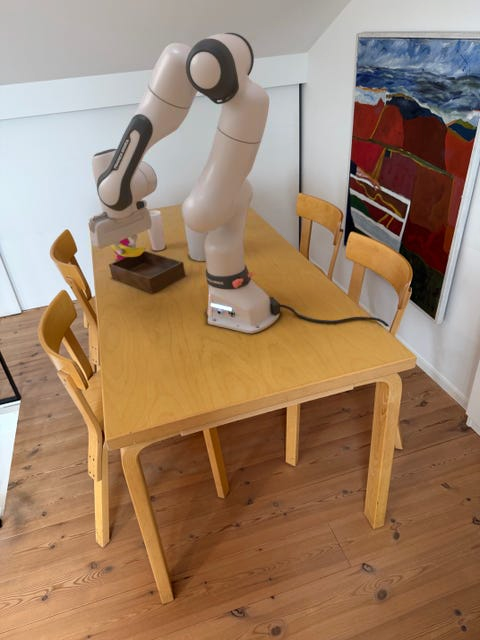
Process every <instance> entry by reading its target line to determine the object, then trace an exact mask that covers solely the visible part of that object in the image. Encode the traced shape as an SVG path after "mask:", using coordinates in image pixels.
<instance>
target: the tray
mask: <svg viewBox="0 0 480 640" xmlns="http://www.w3.org/2000/svg"><path fill="white" fill-rule="evenodd" d="M108 267H109V270H110V276H111V278H112V279H113V280H115V281H117V282H121V283H124V284H126V285H129V286H132V287H134V288H136V289H139V290H141V291H144V292H147V293H149V294H152V295H153V294H155V293H156V292H158V291H160V290H162V289H164V288H166V287H167V286H170V285H171V284H174V283H175V282H177V281H179V280H181V279H183V278H185V277H186V272H185V271H186V270H185V265H184V261H181V260H178V259H174V258H171V257H167V256H164V255H161V254H158V253H154V252H153V251H152V252H151V251H148V250H145V251H144V252H143V253H142V254H141V255H140V256H137V257H125V258H122V259H120V260H116V261H114V262H111V263H109V264H108Z"/></svg>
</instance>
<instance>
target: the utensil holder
mask: <svg viewBox="0 0 480 640" xmlns="http://www.w3.org/2000/svg"><path fill="white" fill-rule="evenodd" d="M183 222H184V229H185V235H186V243H187V249H188V254H189V257H190V259H192V260H194V261H198V262H206V258H205V250H204V244H205V240H206V238H207V235H208V232H205V233H198V232H195V231H193V230H192V229H190V228H189V227H188V226H187V224H186V223H185V221H184V220H183Z"/></svg>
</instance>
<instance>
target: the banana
mask: <svg viewBox="0 0 480 640" xmlns="http://www.w3.org/2000/svg"><path fill="white" fill-rule="evenodd" d="M119 246H120V247H121V248H124V252H125V254H123V255H121V256H125V257H137V256H140V255H141V254H142V253H143V252H144V251H146V247H136V248H131V247H127V246H124V245H122V244H120V245H119ZM110 247H111V249H112V250H113V252H114V251H115V252H116V253H118V252H117V249H116V248H115V247H114V246H113V245H110ZM115 252H114V253H115ZM116 253H115V254H116Z"/></svg>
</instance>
